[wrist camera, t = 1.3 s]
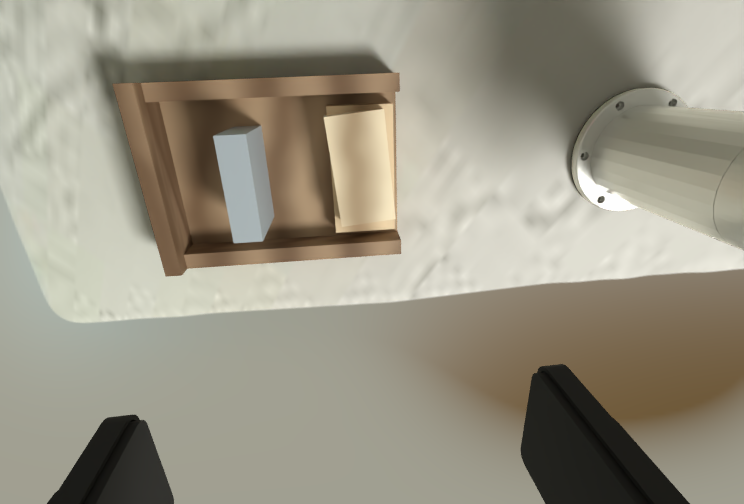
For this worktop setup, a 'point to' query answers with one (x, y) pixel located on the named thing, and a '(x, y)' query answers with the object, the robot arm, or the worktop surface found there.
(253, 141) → the blue-grey rectangular block
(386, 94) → the brown wooden tray
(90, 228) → the worktop surface
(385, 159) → the offcut stack
